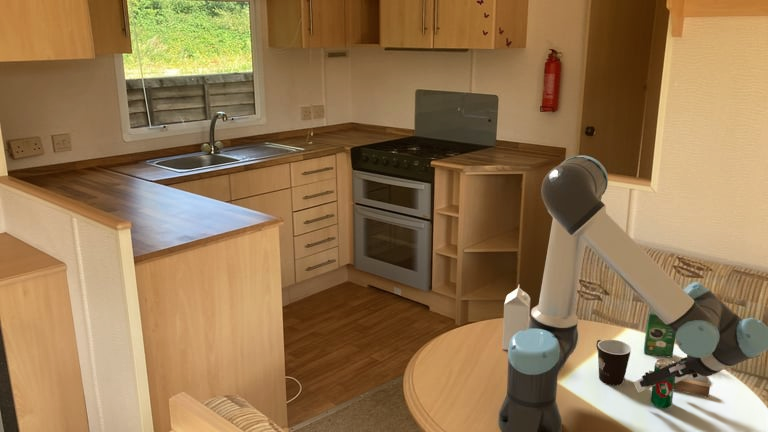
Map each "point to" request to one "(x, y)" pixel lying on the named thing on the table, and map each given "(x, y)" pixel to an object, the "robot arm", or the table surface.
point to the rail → (692, 387)
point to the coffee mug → (612, 361)
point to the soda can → (663, 387)
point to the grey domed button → (699, 378)
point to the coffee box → (658, 337)
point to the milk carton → (515, 315)
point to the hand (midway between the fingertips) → (654, 382)
